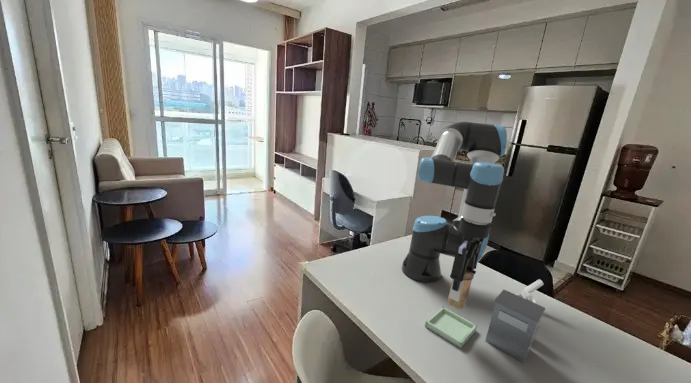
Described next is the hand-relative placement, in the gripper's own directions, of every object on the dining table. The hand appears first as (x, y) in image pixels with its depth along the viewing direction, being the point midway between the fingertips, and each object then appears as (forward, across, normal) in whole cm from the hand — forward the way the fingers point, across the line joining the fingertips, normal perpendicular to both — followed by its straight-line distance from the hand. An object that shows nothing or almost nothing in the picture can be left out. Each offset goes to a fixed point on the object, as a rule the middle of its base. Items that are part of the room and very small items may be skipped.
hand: (458, 295), depth 85 cm
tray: (+12, 0, 0) cm, 12 cm away
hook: (+12, +36, -12) cm, 39 cm away
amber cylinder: (+3, 0, 0) cm, 3 cm away
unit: (+12, +7, -14) cm, 19 cm away
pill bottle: (+12, +15, -16) cm, 25 cm away
